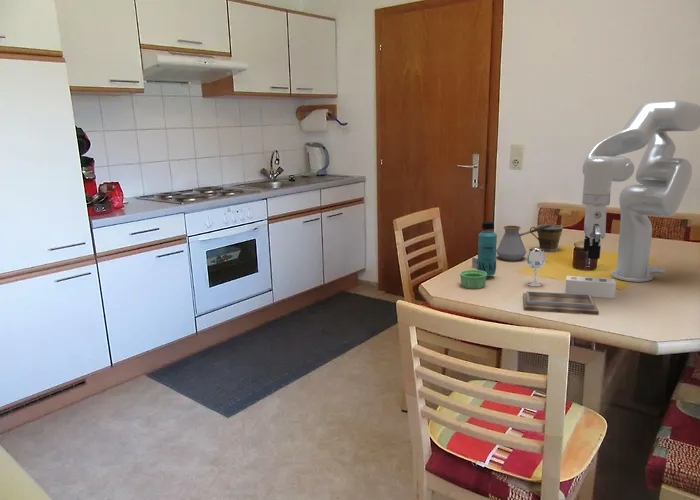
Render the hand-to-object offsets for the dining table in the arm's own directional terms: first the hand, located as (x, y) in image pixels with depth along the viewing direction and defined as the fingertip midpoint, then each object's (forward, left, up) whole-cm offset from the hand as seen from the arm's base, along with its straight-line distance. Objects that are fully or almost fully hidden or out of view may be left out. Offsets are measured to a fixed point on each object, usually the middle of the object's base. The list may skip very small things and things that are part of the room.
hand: (591, 254), depth 160 cm
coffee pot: (+19, -40, -13) cm, 46 cm away
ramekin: (+36, -4, -13) cm, 38 cm away
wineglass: (+16, -8, -13) cm, 22 cm away
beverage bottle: (+32, -14, -13) cm, 37 cm away
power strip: (0, -1, -13) cm, 13 cm away
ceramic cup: (+10, -58, -13) cm, 60 cm away
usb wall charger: (+34, -27, -13) cm, 45 cm away
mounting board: (+10, +11, -13) cm, 20 cm away
